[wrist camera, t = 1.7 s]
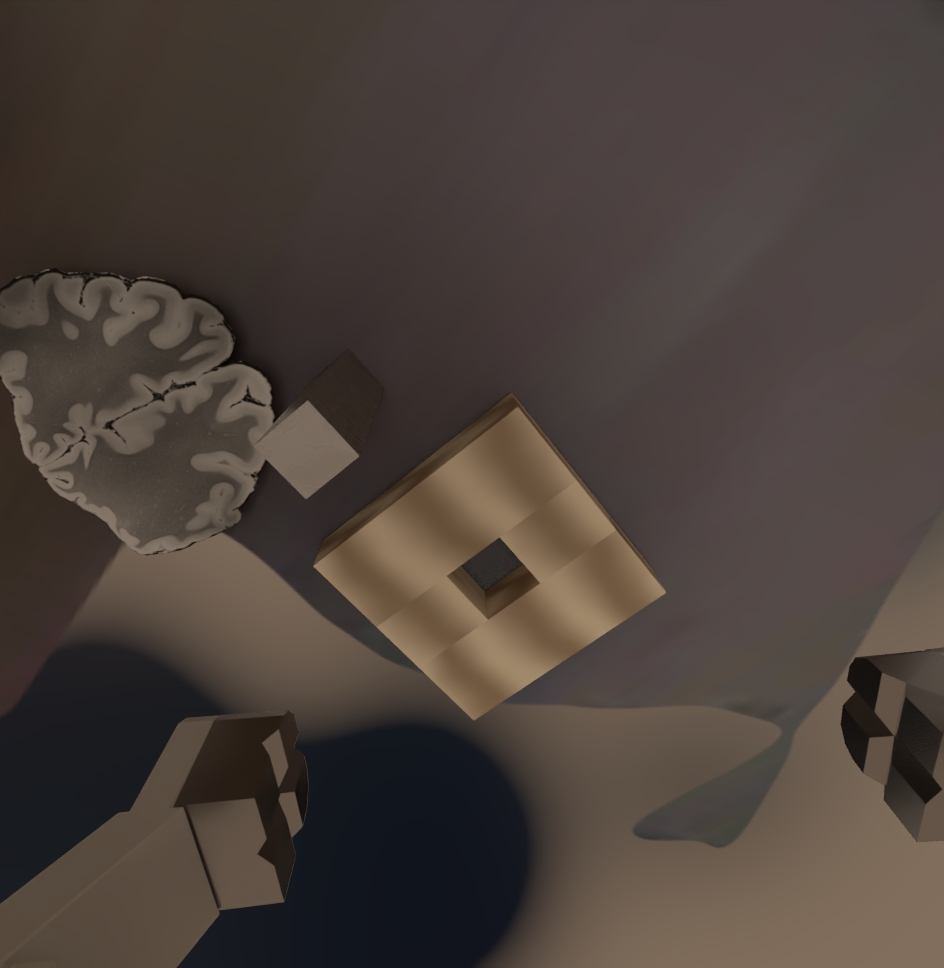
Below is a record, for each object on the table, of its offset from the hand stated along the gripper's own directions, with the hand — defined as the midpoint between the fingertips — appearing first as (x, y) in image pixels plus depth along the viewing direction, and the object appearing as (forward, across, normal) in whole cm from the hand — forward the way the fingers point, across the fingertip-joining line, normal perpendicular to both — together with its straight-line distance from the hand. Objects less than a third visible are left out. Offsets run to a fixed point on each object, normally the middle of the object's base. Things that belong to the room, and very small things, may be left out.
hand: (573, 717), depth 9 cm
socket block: (+36, 0, -16) cm, 40 cm away
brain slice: (+37, -22, -2) cm, 43 cm away
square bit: (+36, -9, -2) cm, 37 cm away
